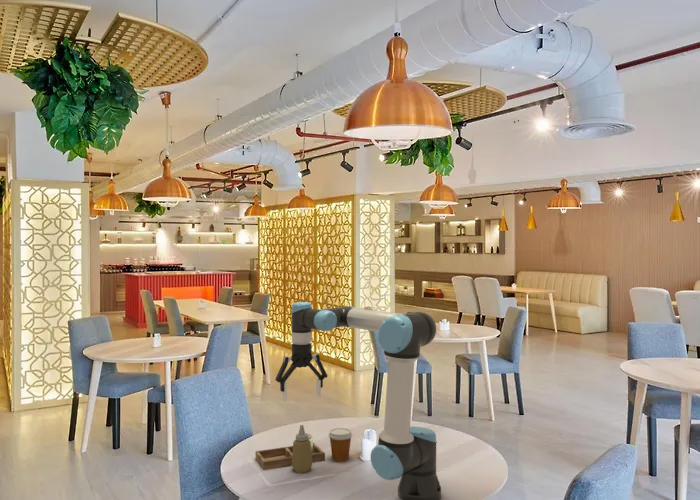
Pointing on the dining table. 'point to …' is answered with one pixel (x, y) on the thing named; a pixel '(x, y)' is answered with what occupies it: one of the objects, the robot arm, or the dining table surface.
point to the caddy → (283, 457)
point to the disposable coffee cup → (340, 443)
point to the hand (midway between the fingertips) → (301, 398)
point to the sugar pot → (311, 441)
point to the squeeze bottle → (301, 452)
